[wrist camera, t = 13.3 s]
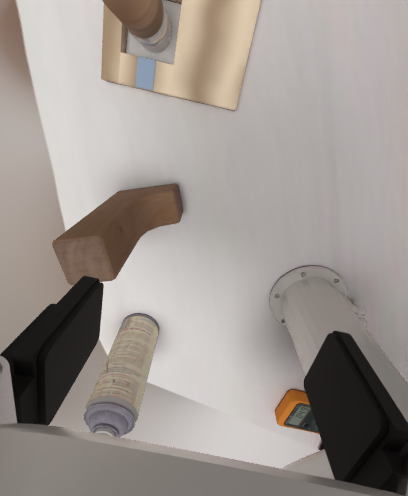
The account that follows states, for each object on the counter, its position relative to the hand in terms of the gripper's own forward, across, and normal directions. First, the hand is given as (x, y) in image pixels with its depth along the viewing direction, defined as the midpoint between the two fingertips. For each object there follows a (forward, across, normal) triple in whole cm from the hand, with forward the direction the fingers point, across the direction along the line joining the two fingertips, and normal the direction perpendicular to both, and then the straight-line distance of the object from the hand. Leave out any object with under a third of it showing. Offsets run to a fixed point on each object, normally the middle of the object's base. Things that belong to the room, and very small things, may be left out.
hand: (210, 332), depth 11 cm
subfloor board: (+29, +8, -16) cm, 34 cm away
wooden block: (+30, +9, +4) cm, 31 cm away
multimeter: (+33, -33, +41) cm, 62 cm away
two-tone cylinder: (+29, +11, -16) cm, 35 cm away
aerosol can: (+31, +8, +28) cm, 42 cm away
